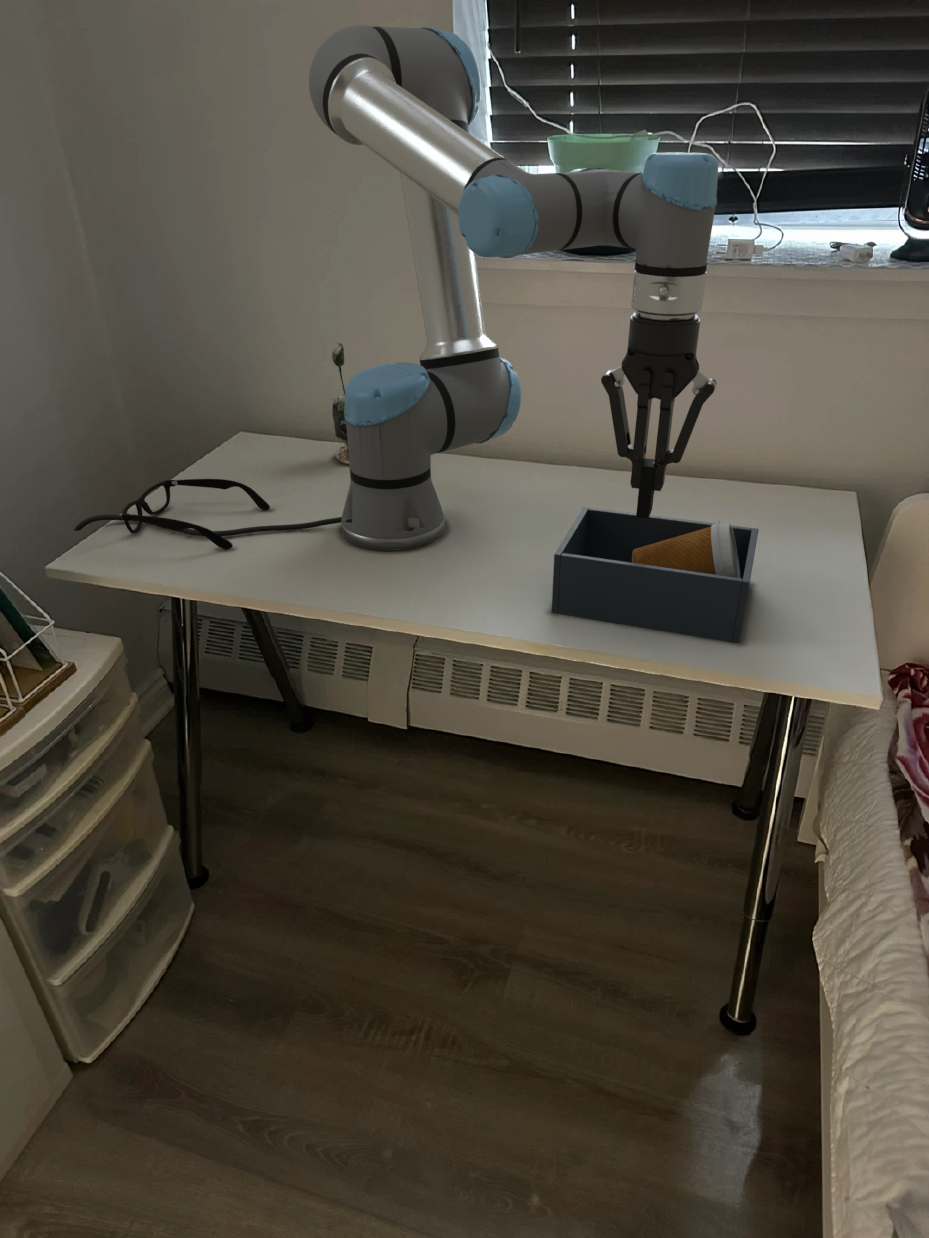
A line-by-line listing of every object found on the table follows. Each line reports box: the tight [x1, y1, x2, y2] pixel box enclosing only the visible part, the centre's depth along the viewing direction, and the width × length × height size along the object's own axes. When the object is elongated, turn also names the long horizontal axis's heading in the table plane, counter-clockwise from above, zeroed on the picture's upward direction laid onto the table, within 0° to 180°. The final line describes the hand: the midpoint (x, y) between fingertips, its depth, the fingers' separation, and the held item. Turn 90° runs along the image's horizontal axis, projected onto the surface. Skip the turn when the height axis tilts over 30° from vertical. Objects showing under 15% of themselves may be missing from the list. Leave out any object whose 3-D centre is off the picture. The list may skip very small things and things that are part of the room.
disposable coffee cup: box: [632, 521, 741, 578], centre depth 110 cm, size 10×10×12 cm
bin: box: [551, 506, 759, 644], centre depth 111 cm, size 23×16×8 cm
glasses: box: [121, 478, 271, 550], centre depth 133 cm, size 17×18×5 cm
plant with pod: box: [330, 342, 350, 466], centre depth 154 cm, size 8×11×20 cm
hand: (644, 513), depth 108 cm, fingers closed
